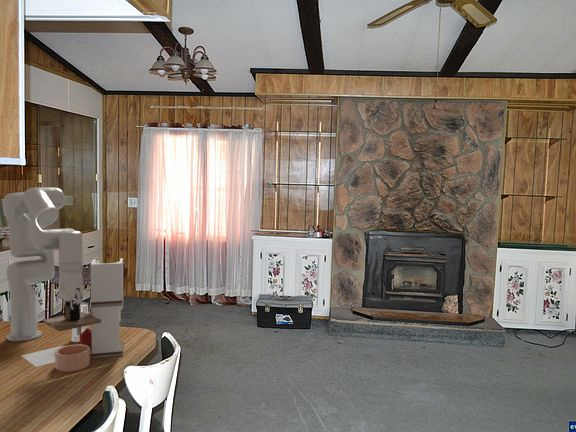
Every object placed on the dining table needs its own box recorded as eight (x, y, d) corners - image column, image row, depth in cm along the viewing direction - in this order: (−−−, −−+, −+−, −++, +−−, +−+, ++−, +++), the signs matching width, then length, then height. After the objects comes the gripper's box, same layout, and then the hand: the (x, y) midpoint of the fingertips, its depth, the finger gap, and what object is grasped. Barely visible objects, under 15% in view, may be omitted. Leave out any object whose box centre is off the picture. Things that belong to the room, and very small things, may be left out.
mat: (20, 356, 172) (20, 355, 172) (62, 346, 183) (62, 345, 183) (36, 368, 162) (36, 367, 162) (79, 356, 173) (79, 355, 173)
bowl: (50, 366, 164) (50, 349, 163) (81, 358, 172) (81, 342, 171) (63, 375, 157) (63, 358, 156) (95, 366, 164) (94, 349, 164)
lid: (43, 322, 163) (42, 306, 162) (83, 314, 173) (83, 299, 172) (59, 331, 153) (59, 315, 153) (101, 322, 163) (100, 307, 163)
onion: (97, 344, 186) (97, 324, 186) (94, 349, 181) (93, 329, 180) (82, 345, 185) (81, 325, 185) (78, 350, 180) (77, 329, 179)
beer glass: (81, 344, 187) (81, 307, 185) (66, 342, 188) (65, 305, 187) (92, 338, 193) (91, 302, 192) (77, 337, 195) (76, 301, 194)
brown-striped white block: (122, 356, 174) (121, 263, 172) (92, 359, 171) (90, 264, 168) (123, 346, 185) (122, 258, 183) (94, 348, 182) (93, 259, 179)
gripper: (50, 264, 165) (51, 316, 166) (70, 271, 153) (71, 326, 155) (71, 262, 170) (72, 312, 171) (92, 268, 159) (93, 321, 160)
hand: (72, 318), depth 163 cm, fingers closed on lid, 4 cm apart
